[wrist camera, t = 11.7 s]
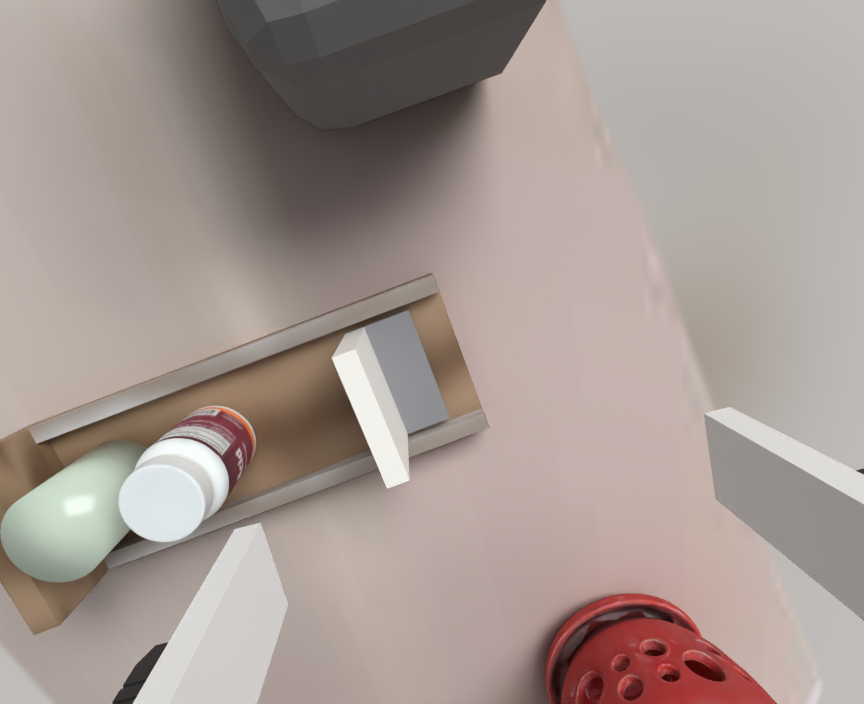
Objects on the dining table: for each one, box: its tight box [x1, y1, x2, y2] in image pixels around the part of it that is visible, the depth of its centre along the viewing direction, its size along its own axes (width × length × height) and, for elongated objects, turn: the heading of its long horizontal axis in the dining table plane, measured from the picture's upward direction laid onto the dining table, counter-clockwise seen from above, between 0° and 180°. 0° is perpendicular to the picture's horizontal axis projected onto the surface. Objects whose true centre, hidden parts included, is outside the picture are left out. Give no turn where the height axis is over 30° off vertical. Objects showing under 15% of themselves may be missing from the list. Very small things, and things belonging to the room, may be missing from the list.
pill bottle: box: [118, 406, 256, 542], centre depth 29 cm, size 5×5×8 cm
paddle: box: [332, 309, 450, 488], centre depth 30 cm, size 7×4×7 cm, turn 20°
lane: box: [0, 273, 490, 635], centre depth 31 cm, size 10×27×7 cm, turn 110°
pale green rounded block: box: [0, 439, 148, 583], centre depth 30 cm, size 5×5×7 cm
